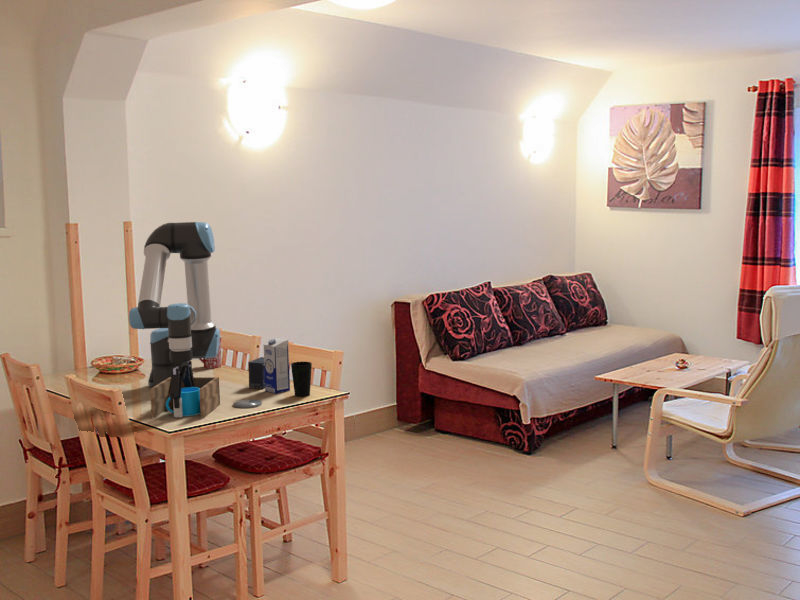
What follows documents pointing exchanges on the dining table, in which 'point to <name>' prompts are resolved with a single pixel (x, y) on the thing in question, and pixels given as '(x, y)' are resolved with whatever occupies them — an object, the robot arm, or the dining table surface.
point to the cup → (301, 378)
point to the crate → (206, 385)
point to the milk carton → (276, 365)
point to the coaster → (247, 403)
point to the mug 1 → (188, 401)
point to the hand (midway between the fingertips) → (183, 412)
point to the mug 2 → (213, 359)
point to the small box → (257, 373)
